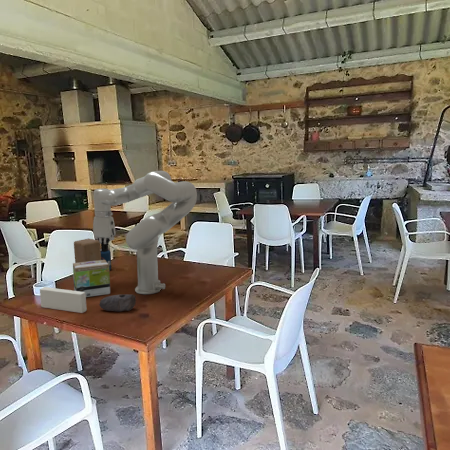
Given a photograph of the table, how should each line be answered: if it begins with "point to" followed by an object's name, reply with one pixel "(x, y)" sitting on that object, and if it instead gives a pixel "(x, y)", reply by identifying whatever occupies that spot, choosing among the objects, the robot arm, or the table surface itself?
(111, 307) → the perforated stone tool
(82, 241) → the wooden block
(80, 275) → the tea box
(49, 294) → the plank
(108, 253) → the soda can
